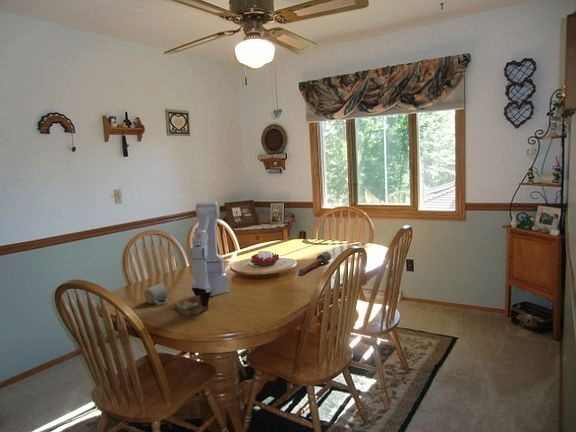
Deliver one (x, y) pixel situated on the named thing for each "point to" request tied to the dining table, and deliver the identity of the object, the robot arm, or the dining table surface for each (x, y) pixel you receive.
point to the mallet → (317, 262)
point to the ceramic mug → (156, 294)
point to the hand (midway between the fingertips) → (202, 304)
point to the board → (187, 311)
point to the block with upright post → (197, 304)
